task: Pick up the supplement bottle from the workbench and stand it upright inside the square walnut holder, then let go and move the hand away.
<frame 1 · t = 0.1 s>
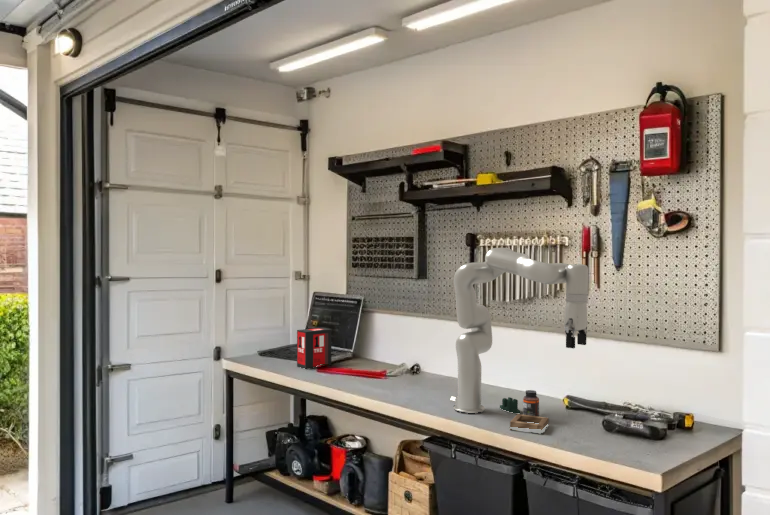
hand: (576, 346, 224), 31 cm above the table, tool pointing down, fingers open, 9 cm apart
walnut holder: (529, 427, 229), on the table
supplement bottle: (531, 421, 239), on the table
mount: (509, 411, 253), on the table
cleaning product box: (314, 366, 340), on the table
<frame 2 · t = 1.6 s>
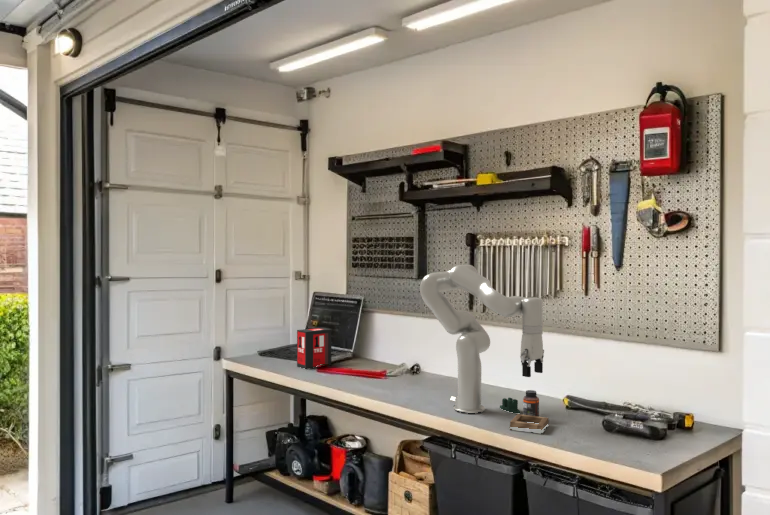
hand: (532, 374, 238), 18 cm above the table, tool pointing down, fingers open, 9 cm apart
nothing on the table moved.
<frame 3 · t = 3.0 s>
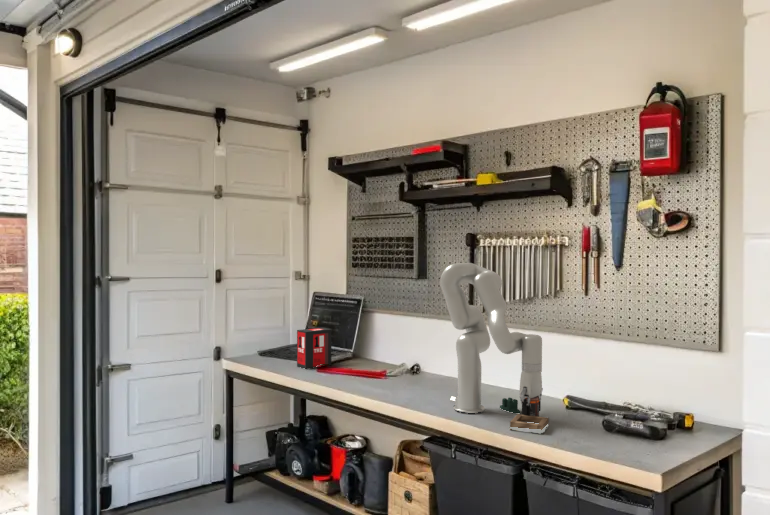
hand: (531, 412, 239), 3 cm above the table, tool pointing down, fingers open, 7 cm apart
nothing on the table moved.
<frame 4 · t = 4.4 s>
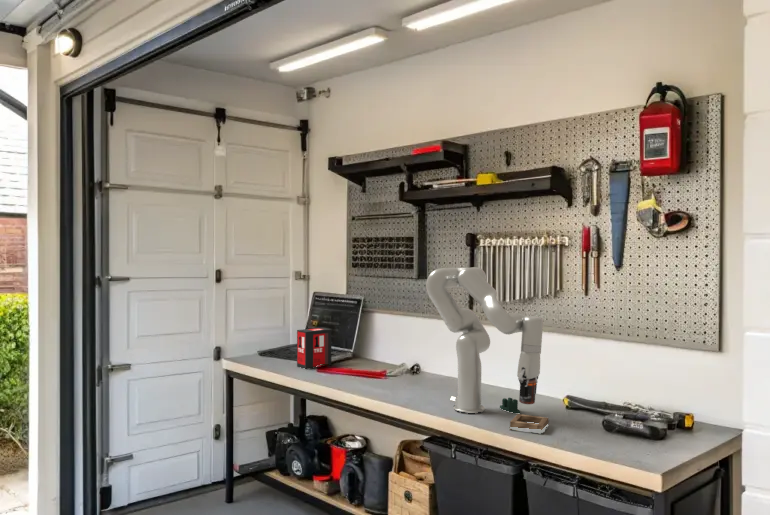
hand: (527, 394, 239), 10 cm above the table, tool pointing down, fingers closed on supplement bottle, 6 cm apart
supplement bottle: (526, 403, 240), point 6 cm above the table, touching gripper
everything else where it was.
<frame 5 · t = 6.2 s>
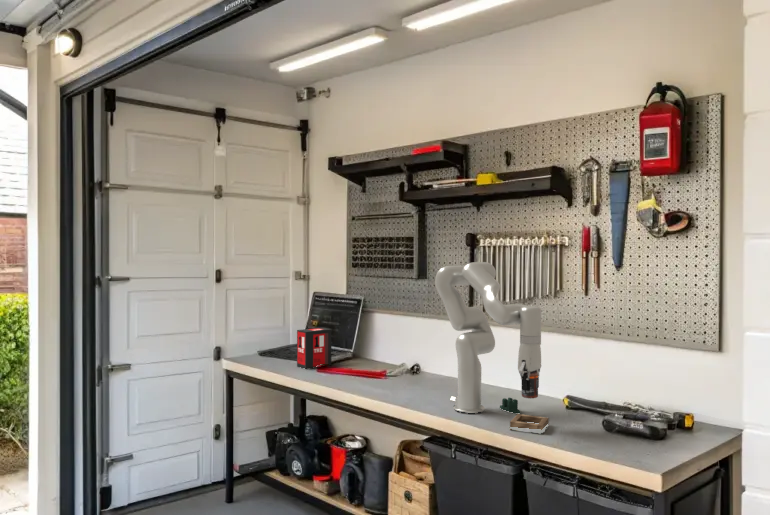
hand: (530, 388, 229), 15 cm above the table, tool pointing down, fingers closed on supplement bottle, 6 cm apart
supplement bottle: (529, 397, 229), point 11 cm above the table, touching gripper
everything else where it was.
when the fingers open (5 cm above the table, at t = 8.3 s): supplement bottle stays where it is, resting on walnut holder.
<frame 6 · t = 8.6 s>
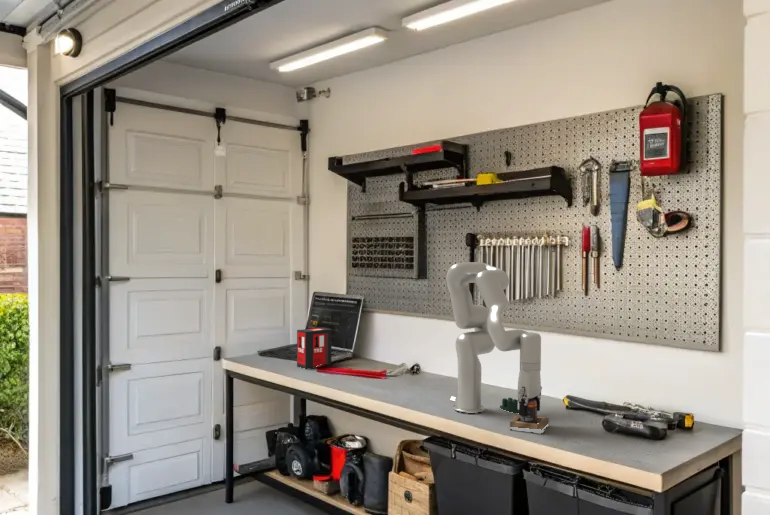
hand: (529, 412, 229), 5 cm above the table, tool pointing down, fingers open, 9 cm apart
supplement bottle: (528, 425, 230), point 1 cm above the table, touching walnut holder
everything else where it was.
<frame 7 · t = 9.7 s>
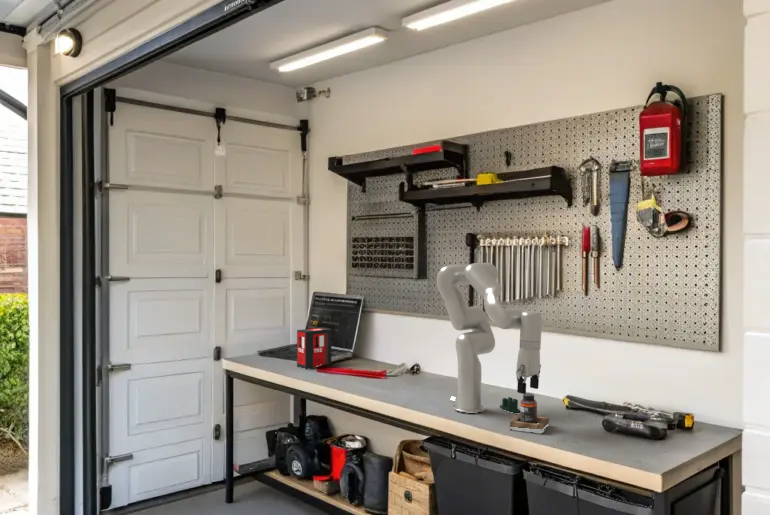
hand: (527, 390, 230), 14 cm above the table, tool pointing down, fingers open, 9 cm apart
nothing on the table moved.
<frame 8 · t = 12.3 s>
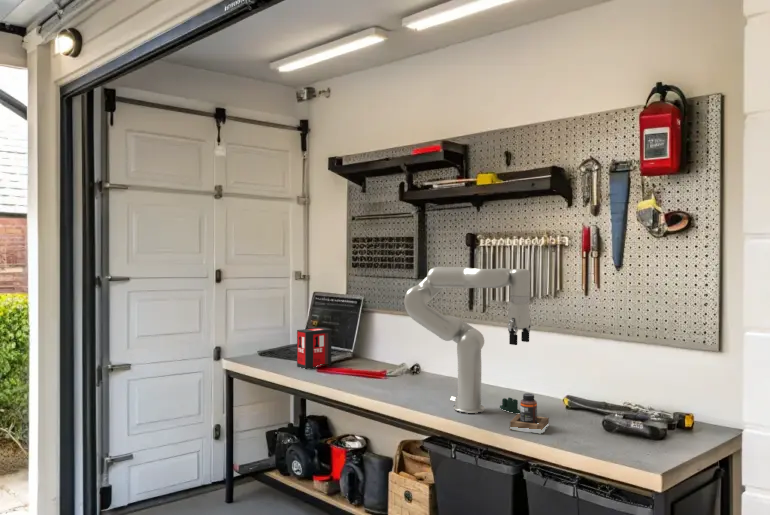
hand: (519, 343, 247), 28 cm above the table, tool pointing down, fingers open, 9 cm apart
nothing on the table moved.
at the end: supplement bottle 0.4 cm off-centre on the walnut holder, point 0.8 cm above the walnut holder's base; supplement bottle tilted 0°; the gripper is holding nothing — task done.
